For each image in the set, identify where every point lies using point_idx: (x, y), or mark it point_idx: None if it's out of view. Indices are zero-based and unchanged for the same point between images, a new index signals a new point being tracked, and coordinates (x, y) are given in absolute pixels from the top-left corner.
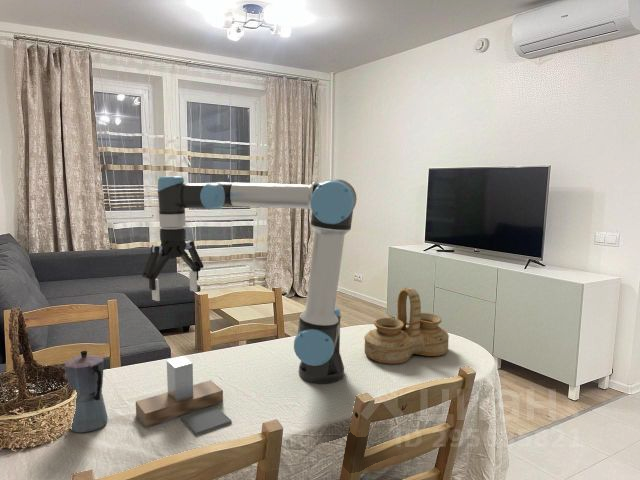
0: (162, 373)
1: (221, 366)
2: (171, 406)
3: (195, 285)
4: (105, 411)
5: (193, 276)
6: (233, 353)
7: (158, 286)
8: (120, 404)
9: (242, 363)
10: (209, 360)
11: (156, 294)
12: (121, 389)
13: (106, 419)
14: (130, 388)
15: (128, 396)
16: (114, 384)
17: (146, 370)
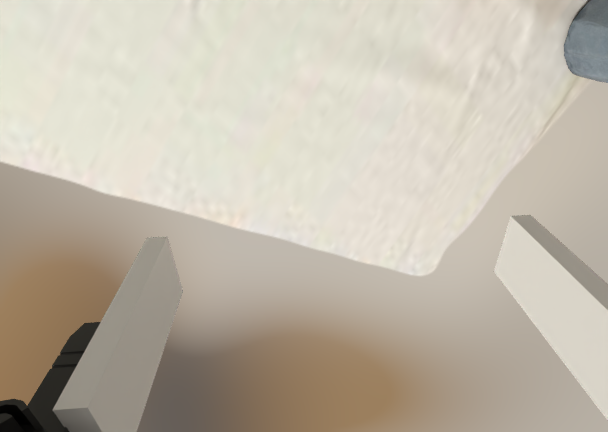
0: (310, 164)
1: (147, 77)
2: None
3: (145, 273)
4: (600, 15)
5: (122, 365)
6: (64, 135)
7: (602, 298)
8: (492, 78)
9: (71, 41)
10: (159, 145)
11: (562, 253)
12: (434, 155)
13: (593, 3)
14: (418, 144)
15: (451, 105)
16: (426, 191)
17: (328, 208)
